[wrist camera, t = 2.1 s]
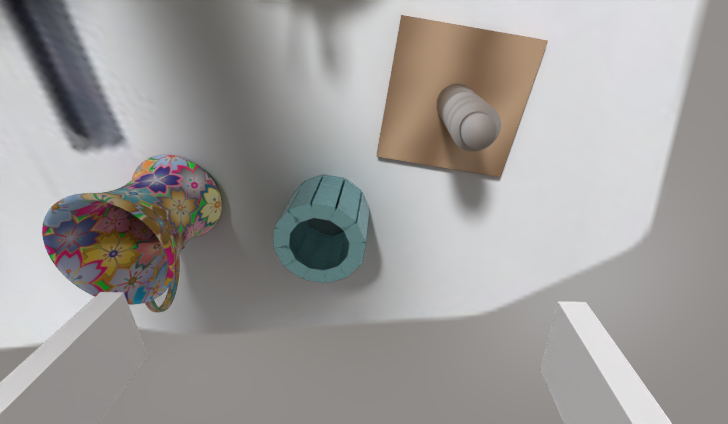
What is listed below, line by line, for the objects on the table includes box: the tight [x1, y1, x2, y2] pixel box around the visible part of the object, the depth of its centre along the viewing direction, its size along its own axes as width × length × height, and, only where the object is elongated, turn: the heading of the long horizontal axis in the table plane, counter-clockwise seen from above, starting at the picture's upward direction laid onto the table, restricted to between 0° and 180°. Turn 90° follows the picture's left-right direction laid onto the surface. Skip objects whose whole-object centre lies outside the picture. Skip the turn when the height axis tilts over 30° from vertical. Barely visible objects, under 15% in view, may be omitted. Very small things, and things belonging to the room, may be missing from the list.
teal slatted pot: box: [273, 175, 369, 283], centre depth 33 cm, size 8×8×6 cm
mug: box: [42, 155, 222, 312], centre depth 32 cm, size 12×9×11 cm
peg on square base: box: [377, 15, 548, 177], centre depth 26 cm, size 11×11×10 cm
